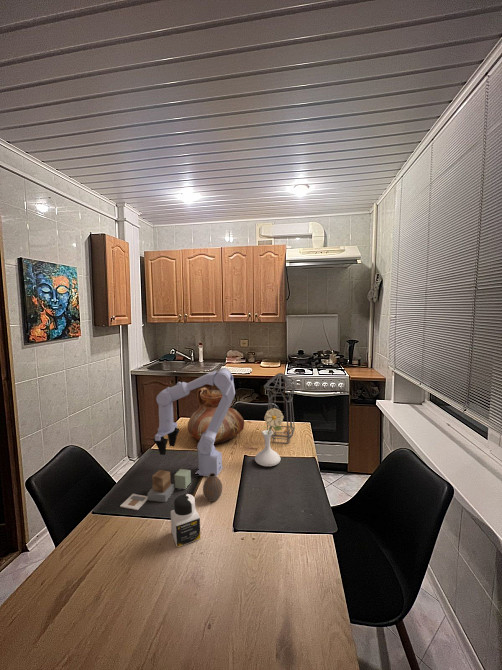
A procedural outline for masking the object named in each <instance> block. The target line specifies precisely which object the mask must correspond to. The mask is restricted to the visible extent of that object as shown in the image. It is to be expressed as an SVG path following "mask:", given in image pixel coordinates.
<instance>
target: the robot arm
mask: <svg viewBox="0 0 502 670" xmlns="http://www.w3.org/2000/svg"><path fill="white" fill-rule="evenodd" d="M206 385H209V386H213V387H214V385H215V386H216V388H217V389H218V390H220V391H221V393H222V395H223V396H222V398H221V400H220V403H219V405H218V407H217V409H216V411H215V413H214V415H213V417H212V420H211V422H210V424H209V426H208V428H207V430H206V431H205V432H204V433H203V434H202V435H201V439H200V441H199V440H198V443H197V445H196V449H197V453H198V454H197V455H198V456H197V458H198V459H197V460H198V469H199V470H198V469H197V470H196V472H194V474H197V473H198V474H199V475H198V476H203V477H208V476H209V474H211V473H215V474H216V476H217V477H218V475H219V474H220V472H221V471H222V470H223V467H224V466H223V460H222V459H223V454H222V451H218V450H217V449H216V447H215V445H214V442H215V437H216V435H217V432H218V430H219V428H220V426H221V424H222V422H223V420H224V417H225V415H226V413H227V411H228V409H229V407H230V406H231V404H232V402H233V400H234V399H235V395H236V390H235V383H234V375H233V374H232V372H231V371H230V370H229V369H228V368H225V367H221V368H219V369H218V370H215V369H214V370H213V371H210V372H208V373H205V374H204V375H201V376H199V377H198V378H195V379H193V380H192V381H189V382H185V381H182V382H181V381H178V382H177V383H176V384H175V385H173V386H171V387H170V386H167V387H166V388H164V389H163V390H161V391H160V392H159V393H158V394H157V395H156V397H155V398H156V403H157V405H158V420H159V421H158V422H159V423H158V425H159V426H158V428H157V431H158V432H157V433H156V434H155V435H154V438H153V442H154V443H155V445H156V446H157V449H158V453H159V454H160V455H163V456H165V455H166V453H167V445H168V444H169V445H168V446H169V447H175V446H176V440H177V437H178V434H179V432H180V428H178V422H174V405H173V402H175V401H177V400H179V399H182V398H184V397H187V396H189V394H190V392H191V391H192V390H195V389H197V388H198V389H199V388H202V387H203V386H206ZM230 408H231V407H230ZM166 435H167V438H165V436H166Z"/></svg>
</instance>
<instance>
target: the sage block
mask: <svg viewBox="0 0 502 670" xmlns="http://www.w3.org/2000/svg"><path fill="white" fill-rule="evenodd" d="M191 472H192V471H191V469H186V468H185V469H183V468H179V470H178V471H176V473H175V474H174V489H175V488H183V489H186V488H187V486H188V485H189V484H190V483H191V484H192V477H191V476H192V475H191ZM191 484H190V485H191ZM187 489H188V488H187ZM187 489H186V490H187Z"/></svg>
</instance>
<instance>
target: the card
mask: <svg viewBox="0 0 502 670" xmlns="http://www.w3.org/2000/svg"><path fill="white" fill-rule="evenodd" d="M148 501H149V500H148V495H141V494H136V493H132V494H131V495H130V496H128V498H127V499H126V500H124V502H123V503H121V504H120V506H119V507H120V508H124V509H129V510H130V509H131V510H135V511H138V510H140V508H141V507H142V506H143V505H145V503H146V502H148Z"/></svg>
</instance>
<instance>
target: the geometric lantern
mask: <svg viewBox="0 0 502 670" xmlns="http://www.w3.org/2000/svg"><path fill="white" fill-rule="evenodd" d="M282 379H283V381H282ZM296 382H297V381H296V380H295V379H293V378H291V377H289V376H287V374H284V373H282V372H277V374H275V375H273V376H272V377H271V378H270V379H267V382H266V383H265V384H264V385H263V387H264V389H266V392H267V398H268V403H267V411H268V410H270V409H273V408H275V409H276V403H285V408H286V409H285V410H286V425H285V426H284V425H279V426H280V427H281V428H286V429H287V432H281V431H280V432H279V431H276V430H274V428H273V427H272V426H269V425H267V424H266V427H267V428H266V430H270V429H271V427H272V429H271V431H273V433H274V434H272V435H271V438H272V442H273V444H274V443H275V444H283V442H279V441H276V440H284V438H286V442H285V444H290V442H291V438H292V437H293V436H294V432H295V429H296V428H295V417H294V416H295V415H294V405H293V403H294V402H293V397H294V394H295V390H296V384H297V383H296ZM271 383H273V384H274V386H271V385H270V384H271ZM278 383H279V384H278ZM282 384H285V386H282ZM272 388H273V390H272ZM276 389H277V390H276ZM290 389H291V392H290V394H289V392H288V390H290ZM284 392H286V394H287V396H288V400H287V399H286V396H285V395H284ZM272 393H273V395H272ZM277 394H281V395H277ZM276 397H282V398H284V401H279V400H276ZM273 398H274V400H273ZM273 403H274V404H273ZM288 403H289V404H288ZM273 405H274V407H273ZM288 405H289V410H288ZM288 411H289V413H288ZM288 414H289V415H288ZM288 417H289V418H288ZM268 428H269V429H268ZM290 430H291V431H290ZM281 434H286V435H281ZM279 437H283V438H279Z"/></svg>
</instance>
